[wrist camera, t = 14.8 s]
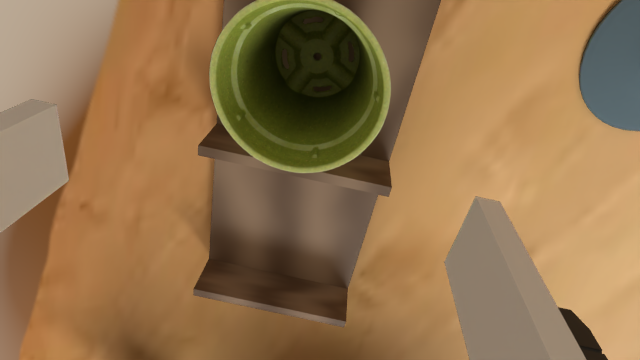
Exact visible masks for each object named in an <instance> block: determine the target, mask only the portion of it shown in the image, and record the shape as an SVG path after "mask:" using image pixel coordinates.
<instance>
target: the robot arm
mask: <svg viewBox="0 0 640 360" xmlns="http://www.w3.org/2000/svg"><path fill="white" fill-rule="evenodd" d="M68 181H69V178H68V171H67V166H66V159H65V154H64V147H63V141H62V135H61V129H60V123H59V117H58V110H57V105H56V104H52V103H47V102H43V101H39V100H34V99H31V100H29V101H26V102H24V103H22V104H19V105H17V106H15V107H12V108H10V109H8V110H5V111H3V112H1V113H0V232H2V231H3V230H5V229H6V228H7V227H8V226H10V225H11V224H12V223H14V222H15V221H16V220H18V219H19V218H20V217H22V216H23V215H24V214H26V213H27V212H28V211H29V210H31V209H32V208H33V207H35V206H36V205H37V204H39V203H40V202H41V201H43V200H44V199H45V198H47V197H48V196H49V195H50V194H52V193H53V192H55V191H56V190H57V189H58V188H60V187H61V186H62V185H64V184H65V183H66V182H68ZM444 263H445V266H446V270H447V274H448V278H449V282H450V286H451V290H452V294H453V297H454V301H455V305H456V309H457V313H458V317H459V321H460V325H461V328H462V332H463V336H464V340H465V344H466V348H467V352H468V356H469V359H470V360H608V359H607V357H606V356H605V354H602V349H601V347H600V346H599V344H598V342H597V341H596V339H595V337H594V336H593V334H592V332H591V331H590V329H589V328H588V327H587V326H586V325H585V324H584V323H583V322H582V321H581V320H580V319H579V318H578V317H577V316H576V315H575V314H574V313H573V312H572V311H571V310H568V309H563V308H559V307H557V305H556V303H555V301H554V299H553V298H552V296H551V294H550V292H549V290H548V288H547V287H546V285H545V283H544V281H543V279H542V277H541V276H540V274H539V272H538V270H537V268H536V267H535V265H534V263H533V261H532V259H531V257H530V256H529V254H528V252H527V250H526V248H525V246H524V245H523V243H522V241H521V239H520V237H519V235H518V234H517V232H516V230H515V228H514V226H513V224H512V223H511V221H510V219H509V217H508V215H507V214H506V212H505V210H504V208H503V206H502V204H501V203H500V202H499V201H495V200H490V199H486V198H481V197H477V196H476V197H475V199H474V201H473V203H472V205H471V207H470V210H469V212H468V214H467V216H466V218H465V220H464V222H463V224H462V226H461V228H460V230H459V233H458V235H457V237H456V239H455V241H454V243H453V245H452V247H451V249H450V251H449V253H448V256H447V258H446V260H445V262H444Z"/></svg>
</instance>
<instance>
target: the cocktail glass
mask: <svg viewBox="0 0 640 360" xmlns="http://www.w3.org/2000/svg"><path fill="white" fill-rule="evenodd" d="M579 82H580V90H581V94H582V97H583V100H584V101H585V103H586V105H587V107H588V108H589V110H590V111H591V112H592V113H593V114H594V115H595V116H596V117H597V118H598V119H600V120H601V121H602V122H604V123H606V124H608V125H610V126H612V127H616V128H619V129H623V130H630V131H640V0H621V1H620V2H619V3H618V4H617V5H616V6H615V7H614V8H613V9H612V10H611V11H610V12H609V13H608V14H607V15H606V16H605V18H604V19H603V20H602V21H601V22H600V24H599V25H598V26H597V28H596V30H595V31H594V33H593V35H592V36H591V38H590V40H589V42H588V44H587V47H586V49H585V51H584V54H583V58H582V61H581V65H580V74H579Z"/></svg>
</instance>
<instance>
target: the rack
mask: <svg viewBox="0 0 640 360" xmlns="http://www.w3.org/2000/svg"><path fill="white" fill-rule="evenodd" d="M254 1H256V0H224V8H223V26H222V30H223V29H224V27H225V26H226V25H227V23H228V22H229V21H230V20H231V19H232V18H233V17H234V15H235V14H237V13H238V12H239V11H240V10H241V9H243V8H244V7H245V6H247V5H249V4H250V3H252V2H254ZM334 1H336V2H338V3H340V4H342V5H343V6H345V7H346V8H348V9H349V10H351V11H352V12H353V13H355V14H356V15H357V16H358V17H359V18H360V19H361V20H362V21H363V22H364V23H365V24H366V25H367V26H368V28H369V29H370V30H371V31H372V33H373V34H374V36H375V37H376V39H377V41H378V42H379V44H380V46H381V48H382V50H383V53H384V55H385V58H386V61H387V64H388V68H389V73H390V81H391V97H390V103H389V109H388V113H387V116H386V119H385V121H384V124H383V126H382V128H381V130H380V131H379V133H378V135H377V136H376V137H375V139H374V140H373V141H372V143H371V144H370V145H369V146H368V147H367V148H366V149H365V150H364V151H363V152H362V153H361V154H359V155H358V156H357V157H355V158H354V159H352V160H351V161H349V162H347V163H345V164H343V165H341V166H339V167H336V168H334V169H331V170H327V171H323V172H315V173H296V172H290V171H285V170H281V169H278V168H275V167H272V166H269V165H267V164H265V163H263V162H261V161H259V160H258V159H256V158H254V157H253V156H252V155H250V154H249V153H248V152H247V151H246V150H244V149H243V148H242V147H241V146H240V145H239V144H238V143H237V142H236V141H235V140H234V139H233V138H232V136H231V135H230V134H229V132H228V131H227V130H226V128H225V127H224V125H223V124H222V122H221V120H220V118H219V116H218V113H217V124H216V125H215V127H214V128H213V129H212V130H211V131H210V132H209V133H208V135H207V136H206V137H205V138H204V139H203V140H202V142H201V143H200V144H199V145H198V155H199V156H204V157H209V158H213V159H215V164H214V182H213V199H212V217H211V234H210V251H209V260H208V262H207V264H206V266H205V268H204V270H203V272H202V274H201V276H200V278H199V280H198V282H197V283H196V285H195V287H194V295H195V296H200V297H205V298H209V299H214V300H219V301H223V302H228V303H233V304H237V305H242V306H247V307H251V308H256V309H261V310H265V311H270V312H275V313H279V314H284V315H289V316H293V317H298V318H303V319H307V320H312V321H317V322H321V323H326V324H331V325H335V326H340V327H344V326H345V323H346V311H347V292H348V286H349V283H350V280H351V277H352V274H353V271H354V268H355V265H356V261H357V258H358V255H359V252H360V249H361V246H362V243H363V240H364V237H365V234H366V231H367V227H368V224H369V221H370V218H371V215H372V212H373V209H374V206H375V203H376V200H377V197H378V195H383V196H387V197H389V194H390V191H391V188H392V186H391V176H390V167H389V159H390V156H391V153H392V150H393V147H394V144H395V141H396V138H397V135H398V132H399V129H400V125H401V122H402V119H403V116H404V113H405V110H406V107H407V104H408V101H409V98H410V95H411V91H412V88H413V85H414V82H415V79H416V76H417V73H418V70H419V67H420V64H421V61H422V57H423V54H424V51H425V48H426V45H427V42H428V39H429V36H430V33H431V30H432V27H433V23H434V20H435V17H436V14H437V11H438V8H439V5H440V2H441V0H334ZM322 21H323V19H322V17H313V18H311V19H310V18H309V19H304V22H303V23H304V24H307V23H312V22H322ZM348 45H349V46H348V48H349V62H352V61H353V59H354V49H353V46H352V44H351V43H350V42H348ZM314 59H315V60H320V59H321V55H320V54H319V53H316V54H314ZM282 60H283V65H284V67H285V68H286V69H288V68H289V64H288V61H287V50H286V49H284V50H283V51H282ZM330 88H331V86H326V87H313V89H314V90H315V91H319V92H321V91H327V90H330Z"/></svg>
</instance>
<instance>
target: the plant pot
mask: <svg viewBox="0 0 640 360" xmlns="http://www.w3.org/2000/svg"><path fill="white" fill-rule="evenodd" d="M313 17H322V19H323V21H322V22H312V23H307V24H304V23H303V22H304V19H309V18H310V19H311V18H313ZM348 42H350V43H351V44H352V46H353V49H354V59H353V61H352V62H349V48H348V46H349V45H348ZM284 49H286V50H287V61H288V64H289V68H288V69H286V68H285V67H284V65H283V60H282V51H283V50H284ZM316 53H319V54H320V55H321V59H320V60H315V59H314V54H316ZM209 80H210V90H211V94H212V99H213V102H214V105H215V108H216V111H217V113H218V116H219V118H220V120H221V122H222V124H223V125H224V127H225V128H226V130H227V131H228V132H229V134H230V135H231V136H232V138H233V139H234V140H235V141H236V142H237V143H238V144H239V145H240V146H241V147H242V148H243V149H244V150H246V151H247V152H248V153H249V154H250V155H252V156H253V157H254V158H256V159H258V160H259V161H261V162H263V163H265V164H267V165H269V166H272V167H275V168H278V169H281V170H285V171H290V172H296V173H315V172H323V171H327V170H331V169H334V168H336V167H339V166H341V165H343V164H345V163H347V162H349V161H351V160H352V159H354V158H355V157H357V156H358V155H359V154H361V153H362V152H363V151H364V150H365V149H366V148H367V147H368V146H369V145H370V144H371V143H372V141H373V140H374V139H375V137H376V136H377V135H378V133H379V131H380V130H381V128H382V126H383V124H384V121H385V119H386V116H387V113H388V109H389V103H390V97H391V81H390V73H389V68H388V64H387V61H386V58H385V55H384V53H383V50H382V48H381V46H380V44H379V42H378V41H377V39H376V37H375V36H374V34H373V33H372V31H371V30H370V29H369V28H368V26H367V25H366V24H365V23H364V22H363V21H362V20H361V19H360V18H359V17H358V16H357V15H356V14H355V13H353V12H352V11H351V10H349V9H348V8H346V7H345V6H343V5H342V4H340V3H338V2H336V1H334V0H256V1H254V2H252V3H250V4H249V5H247V6H245V7H244V8H243V9H241V10H240V11H239V12H238V13H237V14H235V15H234V17H233V18H232V19H231V20H230V21H229V22H228V23H227V25H226V26H225V27H224V29H223V30H222V32H221V34H220V35H219V37H218V39H217V41H216V44H215V46H214V49H213V52H212V56H211V61H210V70H209ZM326 86H331V88H330V90H327V91H321V92H319V91H315V90H314V89H313V87H326Z"/></svg>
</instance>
